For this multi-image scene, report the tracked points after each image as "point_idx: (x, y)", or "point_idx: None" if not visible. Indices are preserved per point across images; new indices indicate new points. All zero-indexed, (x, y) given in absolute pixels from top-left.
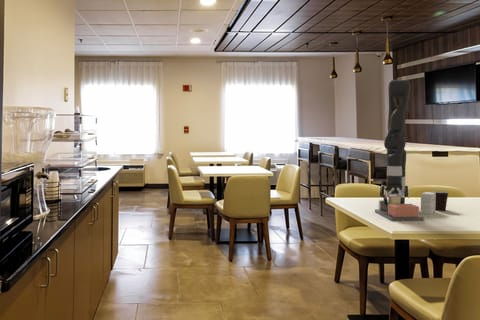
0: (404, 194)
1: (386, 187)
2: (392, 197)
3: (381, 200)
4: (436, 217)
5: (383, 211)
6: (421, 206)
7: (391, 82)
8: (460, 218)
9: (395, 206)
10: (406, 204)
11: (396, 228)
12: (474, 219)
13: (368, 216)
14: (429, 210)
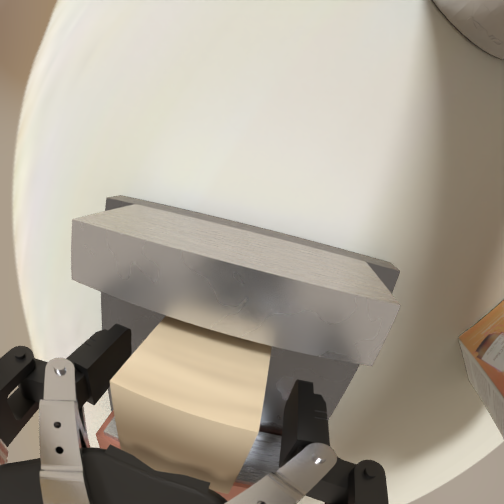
0: (349, 487)
1: (8, 483)
2: (133, 455)
3: (90, 259)
4: (400, 450)
5: (130, 314)
6: (479, 370)
7: None
8: (454, 460)
9: None
10: (224, 495)
11: None
12: (467, 467)
13: (49, 318)
14: (475, 387)
